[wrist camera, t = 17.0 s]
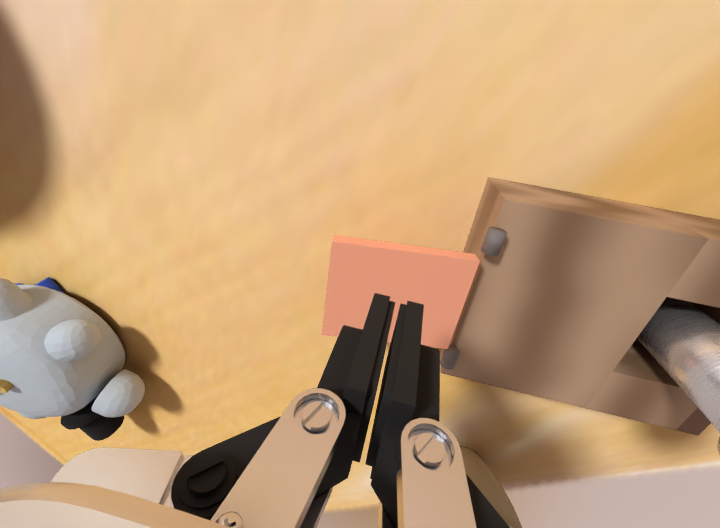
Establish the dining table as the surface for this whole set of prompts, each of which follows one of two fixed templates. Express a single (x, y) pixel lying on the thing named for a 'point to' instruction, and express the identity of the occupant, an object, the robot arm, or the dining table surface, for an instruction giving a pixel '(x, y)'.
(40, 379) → the figurine
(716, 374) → the pin
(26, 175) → the dining table surface
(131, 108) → the dining table surface
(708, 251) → the block
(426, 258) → the plate
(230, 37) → the dining table surface
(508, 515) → the beige bowl
